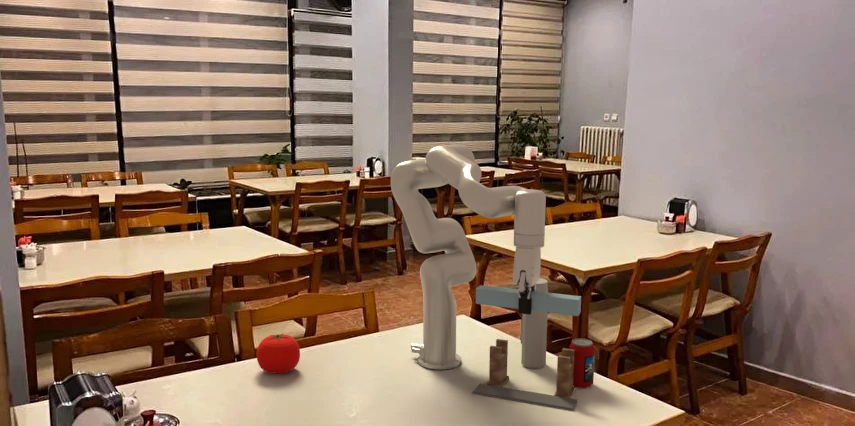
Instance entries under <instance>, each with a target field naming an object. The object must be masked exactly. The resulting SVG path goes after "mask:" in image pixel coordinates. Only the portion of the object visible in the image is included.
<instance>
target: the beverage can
mask: <svg viewBox="0 0 855 426" xmlns="http://www.w3.org/2000/svg"><path fill="white" fill-rule="evenodd" d="M568 349H573V350H574V374H573V386H574V387H575V388H577V389H578V388H579V389H587V388H590V387H591V386H593V385H594V381H595V380H594V379H595V378H594V377H595V357H596V354H595V353H596V348H595V346H594V344H593V341H592V340H590V339H588V338H581V337H580V338H574V339H572V340H571V342H570V345H569V346H568Z"/></svg>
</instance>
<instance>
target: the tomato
mask: <svg viewBox="0 0 855 426" xmlns="http://www.w3.org/2000/svg"><path fill="white" fill-rule="evenodd" d="M255 355H256V361H257V363H258V365H259V368H260V369H261V370H263V371H264V372H266V373H269V374H282V373H288V372H291V371H292V370H293V369H295V368H296V367H297V365H299V362H300V360H301V350H300V345H299V344H298V341H297V340H296V339H295V338H294V337H293V336H292V335H289V334H285V333H284V332H283V333H279V334H270V335H268V336H266V337H265V338H263V339H262V340H261V341H260V342H259V344H258V346H257V349H256V354H255Z"/></svg>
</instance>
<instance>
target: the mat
mask: <svg viewBox="0 0 855 426" xmlns="http://www.w3.org/2000/svg"><path fill="white" fill-rule="evenodd" d="M472 394H474V395H480V396H487V397H493V398H498V399H504V400H509V401H516V402H521V403H527V404H533V405H537V406H538V405H539V406H545V407H549V408H556V409H562V410H567V411H572V412H573V411H574V410H575V408H576V406H577V404H578V399H576V398H572V397H571V398H566V397H560V396H554V394H548V393H541V392H535V391H528V390H524V389H518V388H512V387H511V388H510V387H504V386H503V387H500V386H494V385H488V384H487V383H482V382H480V383H478V384H477V386H476V387H475V388H474V389H473V390H472Z"/></svg>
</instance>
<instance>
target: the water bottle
mask: <svg viewBox="0 0 855 426" xmlns="http://www.w3.org/2000/svg"><path fill="white" fill-rule="evenodd" d="M548 283H549V282H548V280H547V279H545V278H542V277H540V278H539V280H538V281H537V283H536V291H537V292H546V293H549V286H548V285H549V284H548ZM527 286H528V284H527ZM547 333H548V312H540V311H532V310H531V314H530V315H528V314H522V317H521V327H520V334H519V335H520V336H519V337H520V338H519V339H520V345H521V359H520V360H521V362H520V363H521V364H522V365H523V367H525V368H528V369H532V370H536V369H537V370H538V369H542V368H544V367H546V365H547V363H546V362H547V338H548V335H547Z"/></svg>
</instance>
